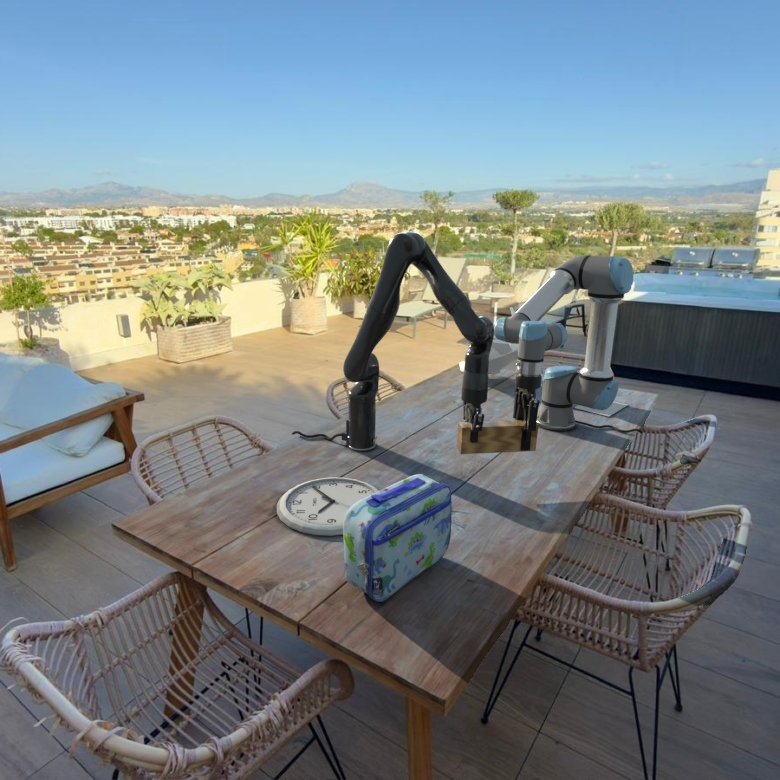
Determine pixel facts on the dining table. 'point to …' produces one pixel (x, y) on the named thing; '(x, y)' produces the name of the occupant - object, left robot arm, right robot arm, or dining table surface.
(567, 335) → the right robot arm
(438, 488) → the lunch box
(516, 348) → the white plastic object
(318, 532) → the wall clock
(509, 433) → the bar
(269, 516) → the dining table surface
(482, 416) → the left robot arm
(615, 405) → the invitation card
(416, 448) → the dining table surface
